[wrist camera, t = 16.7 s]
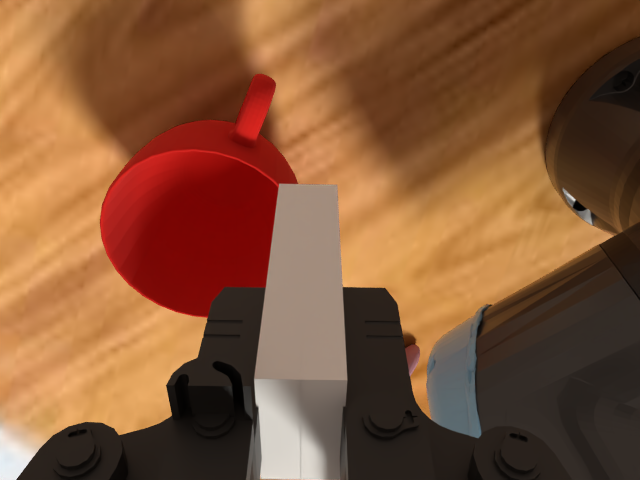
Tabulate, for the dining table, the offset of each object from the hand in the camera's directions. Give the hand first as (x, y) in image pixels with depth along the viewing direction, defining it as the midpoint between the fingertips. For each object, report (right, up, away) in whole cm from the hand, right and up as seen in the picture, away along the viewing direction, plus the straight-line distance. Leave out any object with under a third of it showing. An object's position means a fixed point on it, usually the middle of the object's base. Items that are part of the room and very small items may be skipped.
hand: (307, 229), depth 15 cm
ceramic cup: (-6, +7, +28) cm, 29 cm away
